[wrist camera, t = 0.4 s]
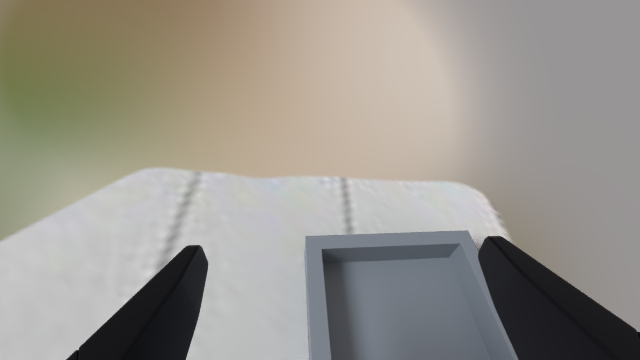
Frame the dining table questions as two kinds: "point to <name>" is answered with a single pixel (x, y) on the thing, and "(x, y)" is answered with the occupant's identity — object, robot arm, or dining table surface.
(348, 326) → the tray
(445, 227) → the dining table surface
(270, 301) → the dining table surface
